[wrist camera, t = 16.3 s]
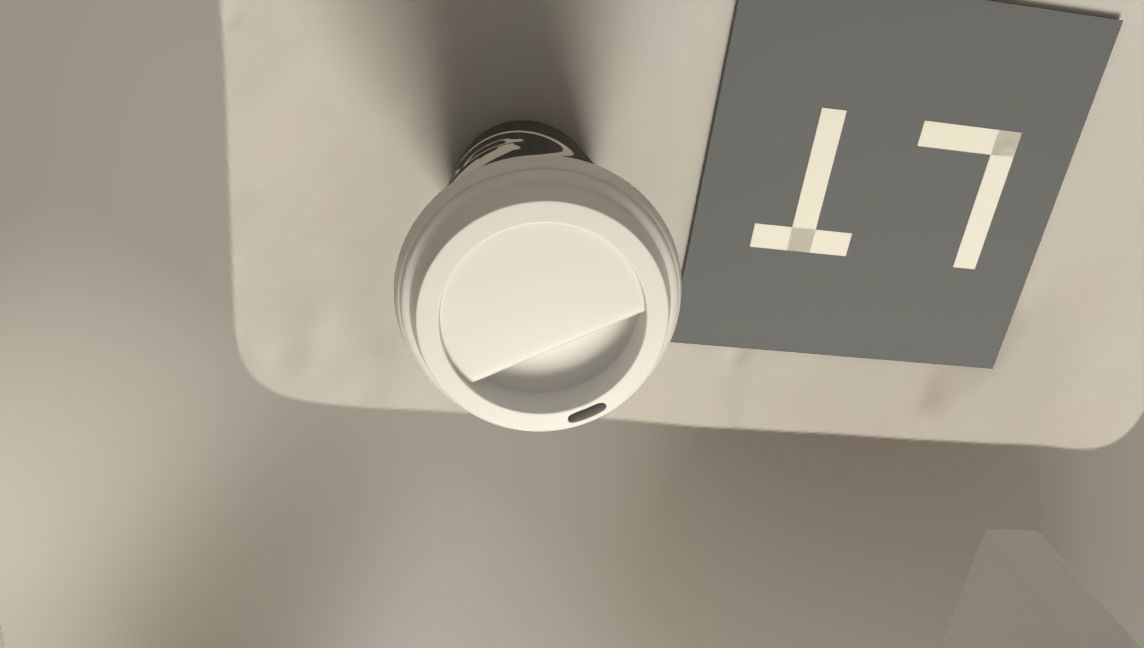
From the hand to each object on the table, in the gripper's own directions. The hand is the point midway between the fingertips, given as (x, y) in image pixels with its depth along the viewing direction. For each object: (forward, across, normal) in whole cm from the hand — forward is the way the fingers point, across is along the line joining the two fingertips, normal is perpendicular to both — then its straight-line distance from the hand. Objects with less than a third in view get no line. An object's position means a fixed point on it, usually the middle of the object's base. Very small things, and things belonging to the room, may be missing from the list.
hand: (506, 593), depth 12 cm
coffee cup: (+30, +2, -3) cm, 31 cm away
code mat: (+30, +19, -2) cm, 36 cm away
